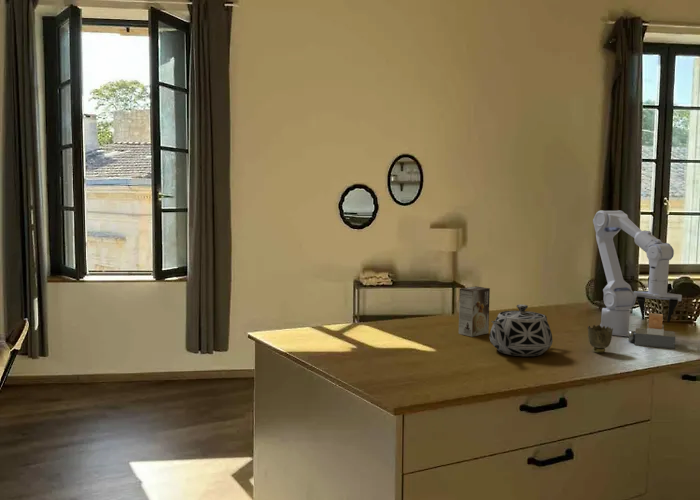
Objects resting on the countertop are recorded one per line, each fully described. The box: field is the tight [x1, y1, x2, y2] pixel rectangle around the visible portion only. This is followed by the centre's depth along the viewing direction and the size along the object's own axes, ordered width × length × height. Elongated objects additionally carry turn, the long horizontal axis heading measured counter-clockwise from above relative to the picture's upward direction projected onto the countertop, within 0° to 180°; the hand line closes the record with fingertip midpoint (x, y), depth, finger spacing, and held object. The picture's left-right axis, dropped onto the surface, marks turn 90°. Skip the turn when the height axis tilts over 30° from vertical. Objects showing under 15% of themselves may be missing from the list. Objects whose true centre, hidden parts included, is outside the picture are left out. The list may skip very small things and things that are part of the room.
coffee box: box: [458, 285, 491, 338], centre depth 246 cm, size 9×6×16 cm
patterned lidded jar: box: [489, 303, 553, 357], centre depth 220 cm, size 19×31×15 cm, turn 135°
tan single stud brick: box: [648, 312, 664, 329], centre depth 233 cm, size 4×6×6 cm
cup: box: [587, 324, 613, 354], centre depth 222 cm, size 8×7×8 cm
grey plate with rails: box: [628, 323, 676, 350], centre depth 235 cm, size 14×9×6 cm, turn 67°
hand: (655, 320), depth 234 cm, fingers open, 7 cm apart
